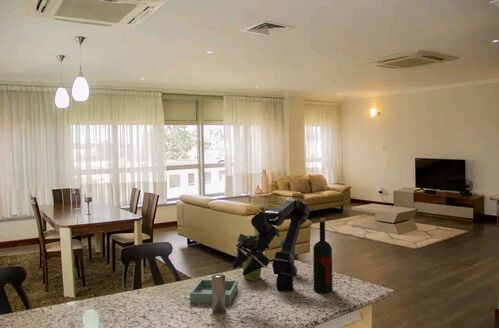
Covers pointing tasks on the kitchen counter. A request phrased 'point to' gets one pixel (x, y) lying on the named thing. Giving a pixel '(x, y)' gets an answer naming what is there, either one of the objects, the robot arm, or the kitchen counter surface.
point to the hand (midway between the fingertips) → (238, 271)
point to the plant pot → (252, 275)
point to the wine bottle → (322, 263)
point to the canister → (218, 293)
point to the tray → (204, 291)
